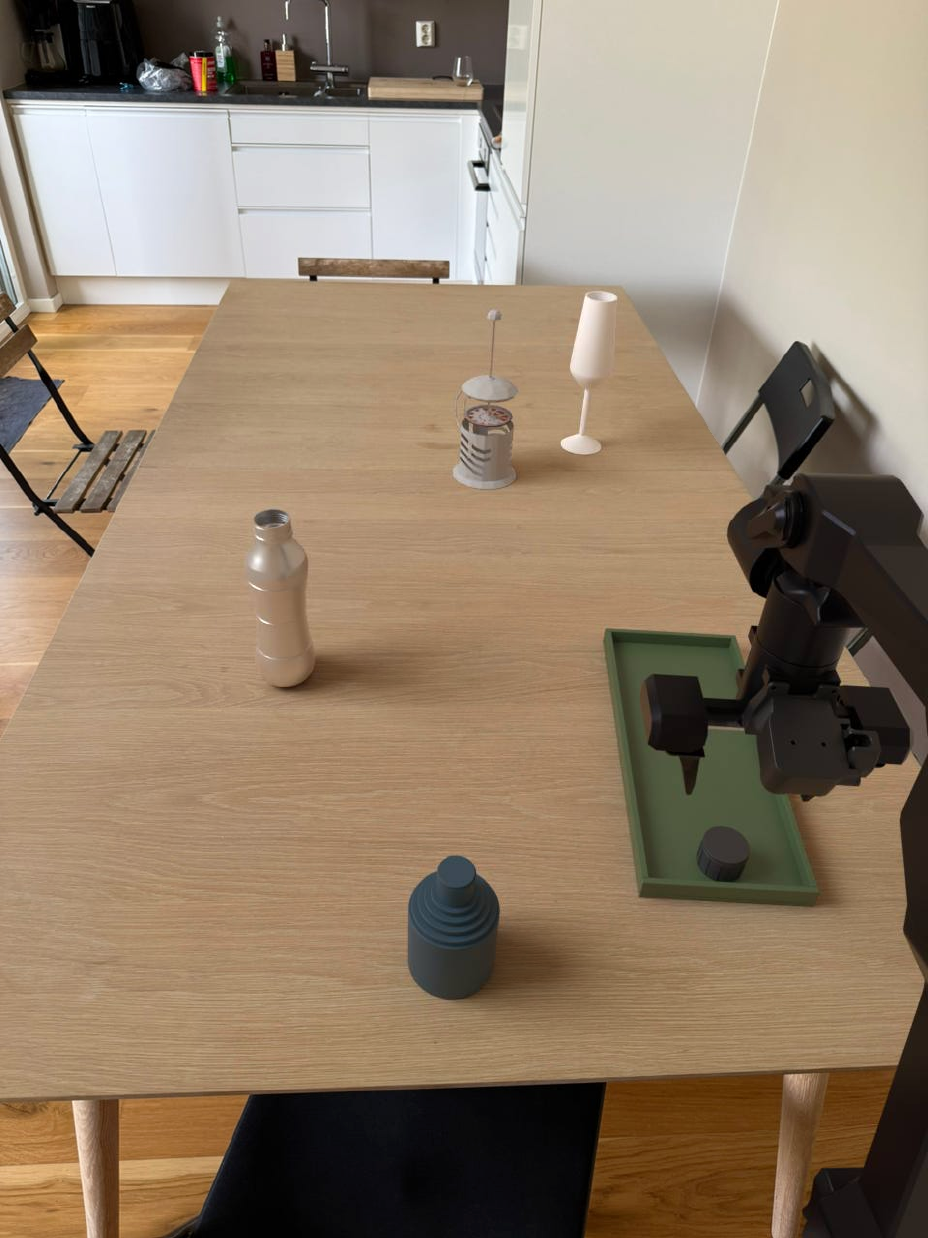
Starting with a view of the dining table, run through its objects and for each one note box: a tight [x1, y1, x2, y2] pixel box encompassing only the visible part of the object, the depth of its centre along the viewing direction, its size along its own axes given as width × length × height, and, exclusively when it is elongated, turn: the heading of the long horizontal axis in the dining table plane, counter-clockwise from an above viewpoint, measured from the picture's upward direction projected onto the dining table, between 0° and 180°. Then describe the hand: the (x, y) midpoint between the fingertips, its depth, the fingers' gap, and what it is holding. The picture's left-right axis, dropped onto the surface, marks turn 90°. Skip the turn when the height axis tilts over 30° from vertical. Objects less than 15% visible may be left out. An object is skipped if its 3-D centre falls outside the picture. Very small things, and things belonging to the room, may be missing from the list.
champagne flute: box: [560, 290, 618, 456], centre depth 138 cm, size 7×7×24 cm
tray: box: [602, 627, 821, 907], centre depth 91 cm, size 35×15×2 cm, turn 178°
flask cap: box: [697, 826, 750, 882], centre depth 79 cm, size 4×4×3 cm
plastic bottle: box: [243, 508, 317, 688], centre depth 92 cm, size 6×7×20 cm
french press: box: [452, 309, 519, 490], centre depth 129 cm, size 10×12×25 cm
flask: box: [407, 854, 501, 1000], centre depth 68 cm, size 7×7×12 cm
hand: (745, 794), depth 71 cm, fingers open, 9 cm apart
